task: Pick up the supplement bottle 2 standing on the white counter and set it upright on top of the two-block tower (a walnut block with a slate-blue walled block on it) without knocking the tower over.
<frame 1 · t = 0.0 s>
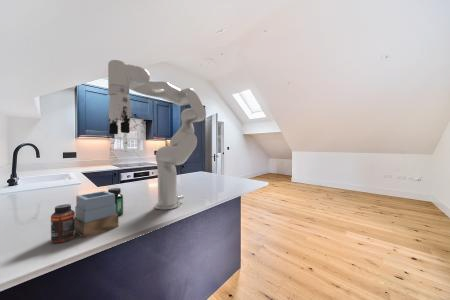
hand: (119, 133, 74), 37 cm above the countertop, tool pointing down, fingers open, 9 cm apart
supplement bottle: (114, 215, 81), on the countertop
tower top block: (96, 215, 68), point 5 cm above the countertop, touching tower base block
supplement bottle 2: (63, 240, 59), on the countertop
tower base block: (96, 228, 68), on the countertop, touching tower top block
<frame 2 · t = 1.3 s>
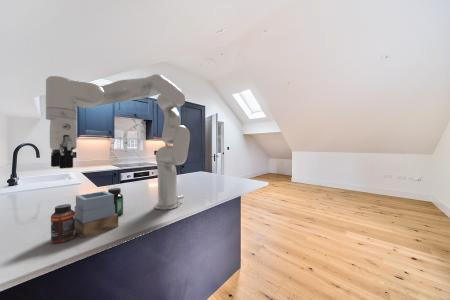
hand: (61, 167, 59), 24 cm above the countertop, tool pointing down, fingers open, 9 cm apart
nothing on the countertop moved.
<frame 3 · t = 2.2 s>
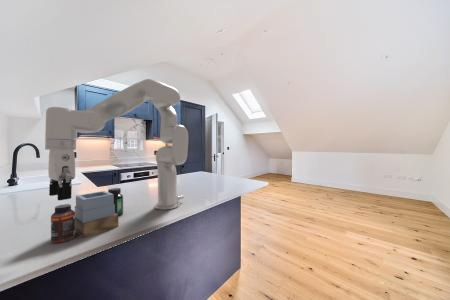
hand: (59, 197, 58), 14 cm above the countertop, tool pointing down, fingers open, 9 cm apart
tower top block: (95, 215, 68), point 5 cm above the countertop
tower base block: (96, 228, 68), on the countertop
everything else where it was.
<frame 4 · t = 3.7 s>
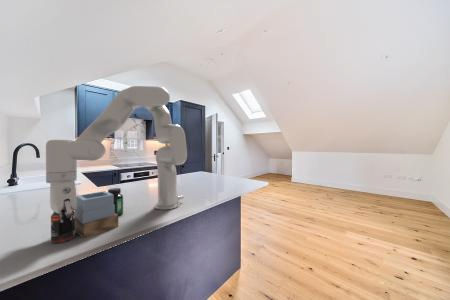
hand: (62, 230, 59), 3 cm above the countertop, tool pointing down, fingers closed on supplement bottle 2, 6 cm apart
tower top block: (95, 216, 68), point 5 cm above the countertop, touching tower base block
supplement bottle 2: (63, 239, 59), on the countertop, touching gripper
tower base block: (96, 229, 68), on the countertop, touching tower top block
everything else where it was.
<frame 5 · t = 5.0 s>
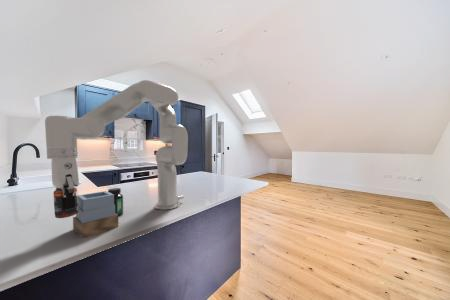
hand: (65, 206, 60), 11 cm above the countertop, tool pointing down, fingers closed on supplement bottle 2, 6 cm apart
supplement bottle 2: (67, 215, 60), point 8 cm above the countertop, touching gripper
everything else where it was.
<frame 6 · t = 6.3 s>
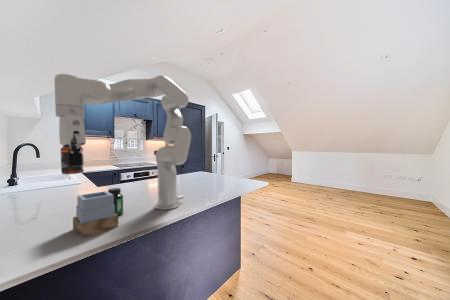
hand: (72, 164, 61), 25 cm above the countertop, tool pointing down, fingers closed on supplement bottle 2, 6 cm apart
tower top block: (95, 216, 68), point 5 cm above the countertop
supplement bottle 2: (73, 173, 61), point 22 cm above the countertop, touching gripper
tower base block: (96, 228, 68), on the countertop
everything else where it was.
when the fingers open (14 cm above the countertop, at t = 10.1 s): supplement bottle 2 drops 3 cm, resting on tower top block.
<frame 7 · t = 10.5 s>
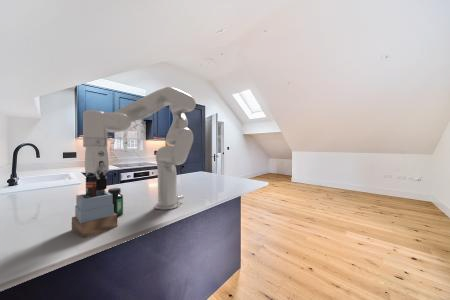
hand: (95, 188, 68), 15 cm above the countertop, tool pointing down, fingers open, 9 cm apart
tower top block: (94, 215, 68), point 5 cm above the countertop, touching supplement bottle 2, tower base block
supplement bottle 2: (95, 205, 68), point 8 cm above the countertop, touching tower top block
tower base block: (95, 228, 68), on the countertop, touching tower top block
everything else where it was.
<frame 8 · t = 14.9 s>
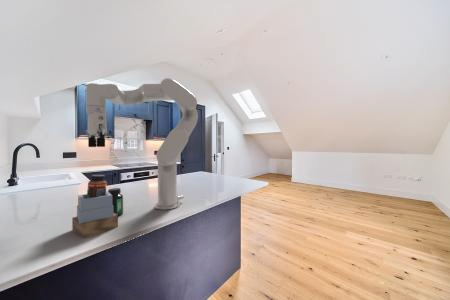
hand: (96, 146, 84), 31 cm above the countertop, tool pointing down, fingers open, 9 cm apart
tower top block: (95, 216, 67), point 5 cm above the countertop, touching supplement bottle 2
tower base block: (95, 229, 67), on the countertop
at the end: supplement bottle 2 0.3 cm off-centre on the tower top block, point 3.9 cm above the tower top block's base; supplement bottle 2 tilted 3°; tower top block tilted 0° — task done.
